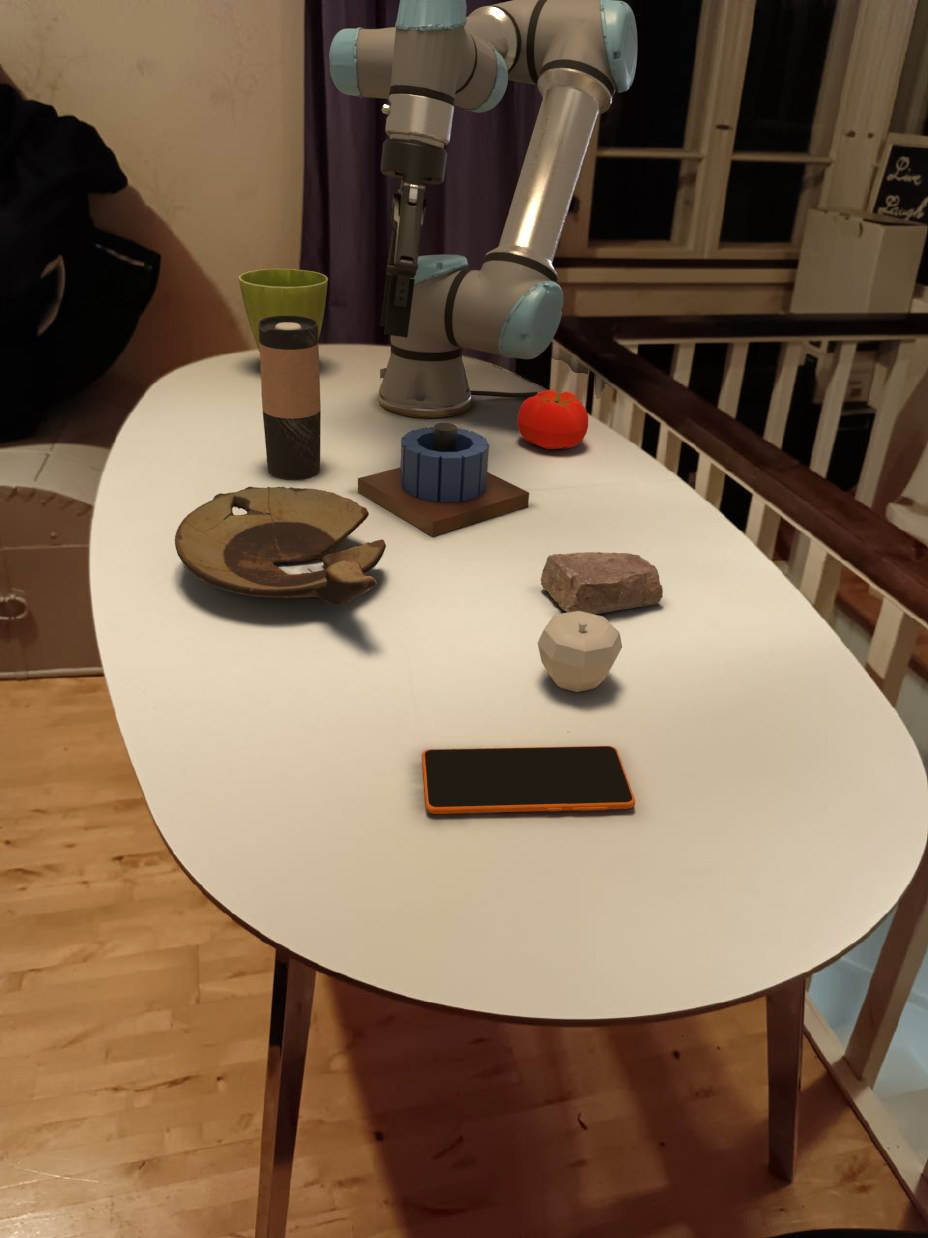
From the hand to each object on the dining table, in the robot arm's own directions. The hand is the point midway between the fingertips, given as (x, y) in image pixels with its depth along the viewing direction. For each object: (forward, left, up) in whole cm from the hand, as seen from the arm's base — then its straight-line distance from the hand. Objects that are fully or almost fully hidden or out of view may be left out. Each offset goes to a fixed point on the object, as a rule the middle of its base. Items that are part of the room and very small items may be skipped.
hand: (393, 331), depth 118 cm
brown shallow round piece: (+25, +15, -21) cm, 36 cm away
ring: (-3, +7, -19) cm, 20 cm away
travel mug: (+8, -12, -21) cm, 25 cm away
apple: (+13, +47, -21) cm, 53 cm away
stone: (-1, +37, -21) cm, 43 cm away
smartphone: (+27, +55, -21) cm, 65 cm away
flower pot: (-15, -52, -21) cm, 58 cm away
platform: (-3, +7, -21) cm, 22 cm away
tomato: (-30, 0, -21) cm, 37 cm away
